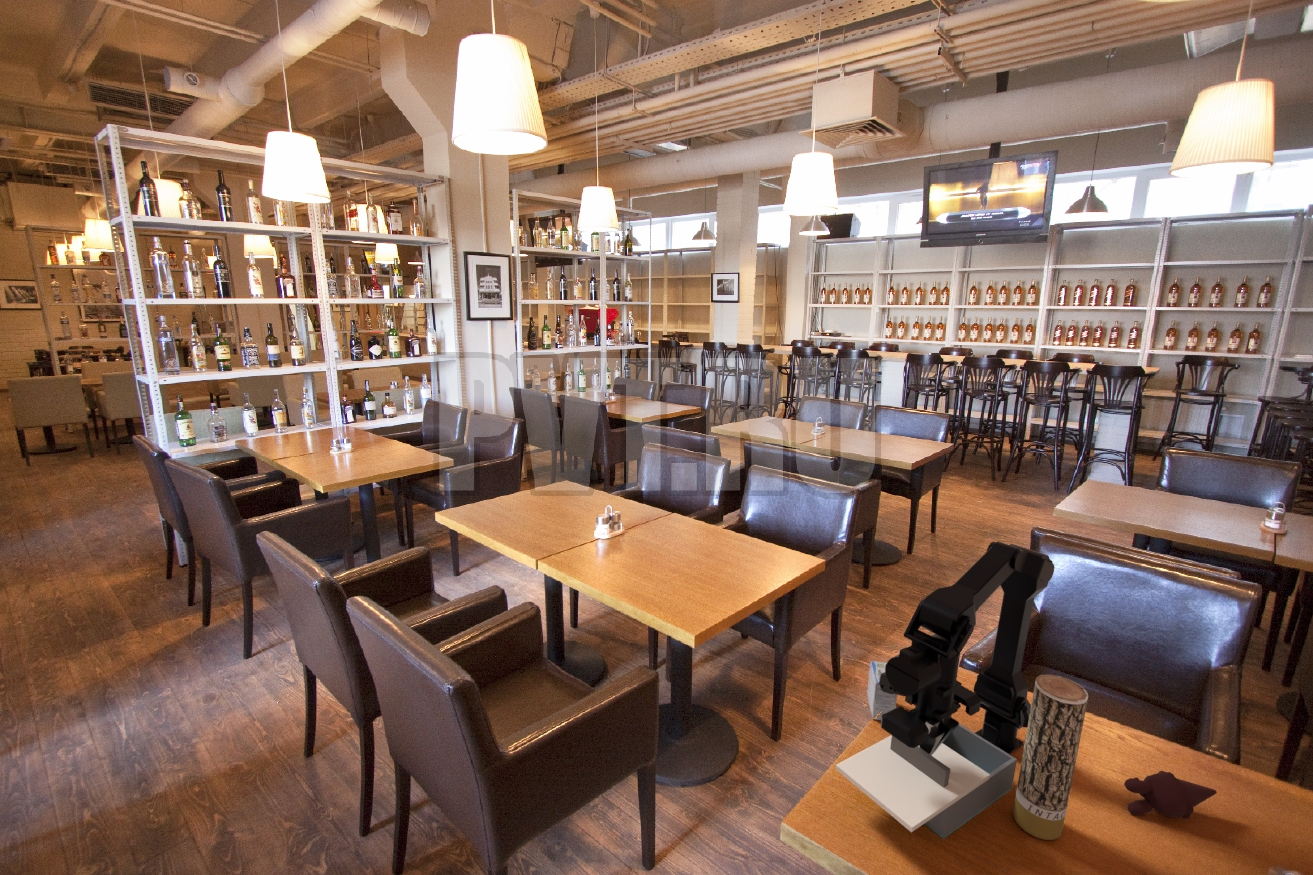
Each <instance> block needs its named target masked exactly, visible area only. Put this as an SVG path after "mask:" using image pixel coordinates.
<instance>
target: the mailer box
mask: <svg viewBox="0 0 1313 875" xmlns="http://www.w3.org/2000/svg"><path fill="white" fill-rule="evenodd" d="M943 744H944V745H946V746H947V747H949V748H950V749H952V750H953V751H955V752H956V753H958V754H959V755H961V756H962V757H964V758H966V759H967V760H969V761H970V762H972V763H973V764H975V765H976V766H978V767H979V768H981V769H982V770H984V771H985V772H987V773H988V774H990V778H989V780H987V781H986V782H984V783H983V784H981V785H980V786H978V787H977V788H975V789H974V790H972V791H971V792H970V793H968V794H967V795H965V796H964V797H962V798H961V799H959V800H958V801H956V802H955V803H954V804H952V805H951V806H949V807H948V808H946V809H945V810H943V811H942V812H940V813H939V814H937V815H936V816H935V817H933V818H932V819H930V820H929V821H927V822H926V823H924V824H923V825H925V826H926V827H928V829H930V831H932V832H933V833H935V834H936V835H937V836H939V837H940V838H941V839H942V840H944V839H945V838H947V837H948V836H950V835H951V834H952V833H954V832H955V831H956V830H958V829H959V828H960V827H962V826H963V825H964V824H967V822H969V821H970V820H971V819H973V818H974V817H975V816H977V815H978V814H981V812H983V811H984V810H985V809H987V808H988V807H989V806H991V805H993V804H994V803H995V802H996V801H998V800H1000V798H1002V797H1004V795H1006V794H1007V793H1009V792H1010V791H1012V790H1013V785H1014V779H1015V773H1016V768H1017V762H1018V759H1017V758H1016V757H1014V755H1013V756H1012V754H1008V753H1006V752H1005V751H1003V750H1001V749H1000V748H998V747H996V746H995V745H993V744H992V743H990V742H988V741H987V740H985V739H983V738H982V737H980V736H979V735H977V734H975V732H974V731H973V730H971V729H969V728H968V727H966V726H964V725H962V724H960V723H959V725H958V726H957V727H956V728H955V729H954V730H953V731H952V732H951V734H950V735H949V736H948V737H947V738H946V739H945V740H944V741H943Z"/></svg>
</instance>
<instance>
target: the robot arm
mask: <svg viewBox="0 0 1313 875" xmlns="http://www.w3.org/2000/svg"><path fill="white" fill-rule="evenodd" d="M987 546H988V547H987V548H986V552H985V553H984V554H983V555H981V557H980V558H979V559H978V560H977V561H976V562H975V563H974V564H973V565H972V566H970V567H969V569H968V570H967V571H965V573H964V574H962V576H961V577H960V578H958V580H957V581H955V583H954V584H952V585H949V586H944V587H939V588H935V590H934V591H932V592H931V593H929V594H928V595H926V596H925V597H924V598H923V599H921V600H920V601H919V603H918V605H917V607H916V609H915V611H914V613H913V615H912V617H911V619H910V621H909V623H908V626H906V629H905V631H904V633H903V637H904V638H906V639H907V640H909V641H911V643H910V644H911V645H909V646H908V647H904V648H902V649H900V650H899V652H898V653H899V654H897V655H895V656H893V657H891V658H890V659H889V660H887V662H886V663H887V664H886V666H885V672H884V673H882V674H881V676H880V681H879V685H880V688H881V690H882V691H883V692H885V693H888V694H896V695H897V696H901V697H904V698H905V699H904V702H906V703H907V704H909V705H910V706H912V705H914V708H912V709H910V710H907V709H906V708H904V707H903V706H900V705H899V706H898V707H897V706H896V708H894V709H892V710H890V711H888V712H886V713H884V714H882V718H881V720H880V727H881V729H882V730H883V731H885V732H886V733H888V734H889V735H890V736H891V735H892V736H894V737H895V738H897V739H898V740H899V741H901V742H902V743H904V744H905V745H907V746H908V747H911V748H915V747H917V746H920V748H921V749H923V750H924V751H925V752H927V753H928V754H930V755H931V756H932V754H933V753H934V752H935V751H936V750H937V748H938V747H939V746H940V745H941V744H942V743H943V741H944V740H945V739H946V738H947V737H948V736H949V735H950V734H951V732H952V731H953V730H954V729H955V728H956V727H957V726H958V725H959V724H960V722H959V721H958V720H956V719H955V718H953V717H952V716H953V714H956V713H957V712H958V710H959V709H960V708H961V706H962V705H963V707H964V706H965V713H966V714H967V715H968V716H970V717H971V716H973V715H975V714H977V713H978V712H980V710H981V709H983V710H985V711H984V718H983V724H982V728H980V729H978V730H977V731H975V732H974V733H975V734H977V735H979V736H980V737H982V738H983V739H985V740H987V741H988V742H990V743H992V744H993V745H995V746H996V747H998V748H1000V749H1001V750H1003V751H1005V752H1006V753H1008V754H1009V755H1012V753H1014V752H1015V751H1017V750H1018V749H1020V748H1021V747H1024V742H1023V741H1022V740H1021V739H1019V738H1017V736H1018V730H1020V729H1022V728H1026V729H1027V727H1028V721H1029V715H1030V709H1031V704H1032V703H1030V701H1029V700H1028V692H1029V691H1028V690H1029V686H1028V683H1027V680H1026V679H1025V676H1024V673H1023V672H1022V665H1023V664H1022V663H1023V660H1024V655H1025V654H1024V653H1025V648H1026V644H1027V637H1028V632H1029V629H1030V622H1031V617H1032V611H1033V606H1034V602H1035V597H1037V596H1038V595H1039V594H1041V592H1043V591H1044V590H1045V589H1046V588H1047V587H1048V586H1049V582H1050V581H1051V580H1052V578H1053V576H1054V572H1055V564H1054V562H1053V560H1052V559H1050V556H1049V555H1048V554H1045V553H1043V552H1039V551H1037V550H1033V549H1030V548H1027V547H1023V546H1021V545H1017V544H1015V543H1010V544H1008V543H1005V542H1002V541H991V542H990V543H989V545H987ZM998 588H1001V590H1002V593H1003V596H1002V602H1001V607H1000V613H999V618H998V622H997V623H998V624H997V627H996V628H997V629H996V633H995V634H996V635H995V641H994V646H993V651H992V652H993V653H992V657H991V661H990V662H991V663H990V665H989V666H988V667H986V668H985V669H984V670H983V671H981V672H980V673H979V674H977V676H976V681H975V683H974V685H973V691H972V690H970V689H969V688H967V687H965V686H963V684H962V682H960V681H959V680H957V677H958V671H959V664H960V658H961V653H962V651H963V649H964V648H965V645H966V644H967V643H968V641H969V640H970V637H971V636H972V634H973V633H974V631H975V627H976V626H977V619H976V618H977V614H976V612H978V610H979V608H981V606H982V605H983V604H984V603H985V602H986V601H987V600H988V599H989V598H990V597H991V596H992V595H993V593H994V592H995V591H997V589H998ZM920 628H922V629H925V630H926V631H929V632H931V633H933V634H932V635H931V634H929V633H927V632H924V631H922V630H921V629H920Z"/></svg>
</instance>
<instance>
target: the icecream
mask: <svg viewBox="0 0 1313 875" xmlns="http://www.w3.org/2000/svg"><path fill="white" fill-rule="evenodd" d="M1123 785H1124V787H1125V789H1126V790H1128V791H1129V792H1130V793H1133V794H1139V796H1141V797H1142V798H1143V799H1136V800H1133V801H1131V802H1129V804H1128V805H1127V806H1126V807H1127V811H1128V812H1129V814H1131V815H1134V816H1144V815H1146V814H1148V813H1151V811H1153V810H1154V811H1156V812H1158V813H1160V814H1161V815H1163V816H1165V817H1167V818H1169V817H1170V818H1182V819H1185V820H1189V819H1190V818H1191V814H1192V813H1193V812H1194V808H1195V807H1196V806H1199V805H1200V804H1201V803H1203V802H1204V801H1206V800H1207V799H1209V798H1211V797H1213V796H1215V795H1216V794H1217V792H1218V791H1217V790H1215V789H1214V788H1211V787H1209V786H1203V785H1201V784H1197V783H1193V782H1191V781H1187V780H1183V779H1180V778H1177V777H1176V776H1175V774H1174V773H1172V772H1171V771H1165V770H1160V771H1159V772H1157V773H1154V774H1150V775H1147V776H1146V777H1144V778H1143V780H1140V779H1139V777H1138V776H1137V777H1136V776H1135V777H1133V778H1131V777H1130V778H1127V779H1126V780H1125V781H1124V784H1123Z"/></svg>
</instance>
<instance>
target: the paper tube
mask: <svg viewBox="0 0 1313 875" xmlns="http://www.w3.org/2000/svg"><path fill="white" fill-rule="evenodd" d="M1088 700H1089V694H1088V692H1087V690H1086V689H1085V688H1084V687H1083V686H1082V685H1080V684H1078V683H1077V682H1075V681H1073V680H1071V679H1069V678H1066V677H1064V676H1060V675H1056V674H1055V675H1054V674H1040V675H1038V676H1036V678H1035V682H1034V686H1033V693H1032V698H1031V703H1030V704H1031V709H1030V715H1029V721H1028V727H1027V728H1026V734H1025V740H1024V743H1023V752H1022V756H1021V762H1020V769H1019V772H1018V773H1019V774H1018V780H1017V785H1016V792H1015V799H1014V802H1013V803H1014V804H1013V810H1012V813H1013V818H1014V820H1015V822H1016V824H1018V826H1019V827H1020V828H1021V829H1022V830H1023V831H1024V832H1025V833H1027V834H1029V835H1031V836H1032V837H1035V838H1037V839H1040V840H1044V841H1053V840H1054V841H1055V840H1056V839H1058V838H1060V837H1061V835H1062V833H1063V828H1064V823H1065V817H1066V814H1067V808H1068V803H1069V798H1070V793H1071V788H1072V784H1073V777H1074V772H1075V767H1076V764H1077V763H1076V762H1077V758H1078V757H1077V756H1078V752H1079V747H1080V741H1081V737H1082V731H1083V728H1084V727H1083V726H1084V721H1085V717H1086V716H1085V715H1086V710H1087V705H1088Z"/></svg>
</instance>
